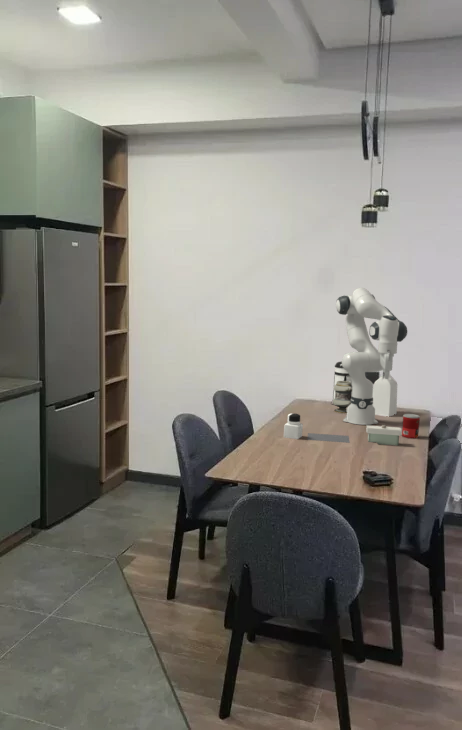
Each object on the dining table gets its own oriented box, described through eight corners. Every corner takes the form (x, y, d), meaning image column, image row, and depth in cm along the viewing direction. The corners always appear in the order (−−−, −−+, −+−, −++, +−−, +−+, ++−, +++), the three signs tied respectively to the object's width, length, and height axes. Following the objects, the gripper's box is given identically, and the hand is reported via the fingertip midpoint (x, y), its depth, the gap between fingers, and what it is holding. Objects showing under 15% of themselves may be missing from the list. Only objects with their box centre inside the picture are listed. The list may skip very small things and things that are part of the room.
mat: (307, 434, 317) (307, 433, 317) (348, 437, 314) (348, 435, 314) (307, 441, 303) (307, 439, 303) (349, 444, 301) (349, 442, 300)
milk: (378, 411, 385) (381, 368, 382) (396, 413, 379) (399, 370, 375) (370, 413, 376) (373, 370, 372) (388, 416, 369) (391, 372, 366)
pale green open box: (367, 440, 309) (368, 430, 308) (397, 443, 307) (397, 432, 306) (368, 443, 304) (369, 433, 303) (398, 445, 302) (399, 435, 301)
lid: (366, 430, 309) (366, 422, 308) (399, 432, 307) (400, 425, 306) (366, 433, 303) (367, 425, 302) (401, 435, 301) (401, 427, 300)
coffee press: (330, 406, 393) (333, 358, 389) (330, 402, 409) (333, 355, 405) (359, 408, 390) (362, 360, 387) (358, 403, 406) (361, 357, 402)
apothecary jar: (332, 408, 386) (333, 379, 384) (352, 410, 384) (354, 380, 382) (332, 412, 374) (334, 382, 372) (353, 414, 373) (355, 383, 370)
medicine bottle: (302, 437, 310) (303, 413, 308) (297, 440, 304) (298, 416, 302) (288, 435, 313) (289, 411, 311) (283, 438, 306) (284, 414, 305)
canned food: (418, 439, 316) (420, 417, 315) (402, 437, 318) (403, 416, 317) (417, 435, 324) (419, 414, 322) (401, 434, 325) (402, 413, 324)
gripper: (396, 352, 299) (394, 381, 301) (391, 347, 319) (389, 374, 321) (382, 351, 299) (380, 380, 301) (379, 346, 319) (377, 373, 321)
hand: (385, 377), depth 311 cm, fingers open, 8 cm apart
